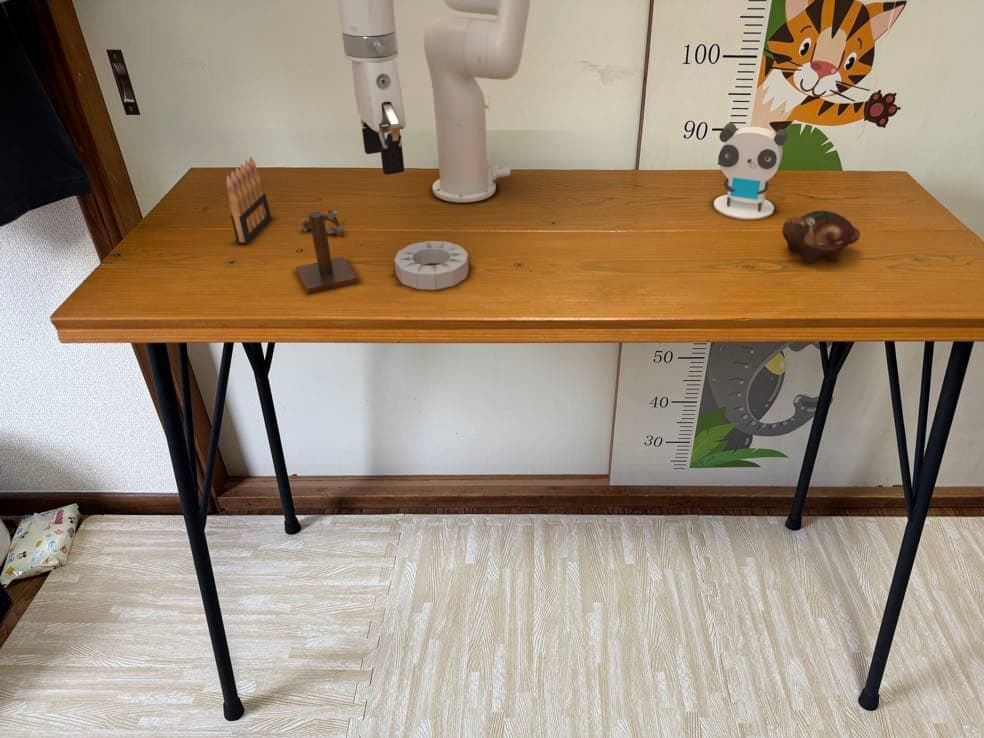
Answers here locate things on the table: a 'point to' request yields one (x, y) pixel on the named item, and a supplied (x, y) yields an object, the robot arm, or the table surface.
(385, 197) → the table surface
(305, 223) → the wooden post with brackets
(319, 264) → the stand
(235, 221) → the ammunition clip
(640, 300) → the table surface
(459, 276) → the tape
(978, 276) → the table surface
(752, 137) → the panda figurine
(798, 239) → the decorative turtle
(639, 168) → the table surface
